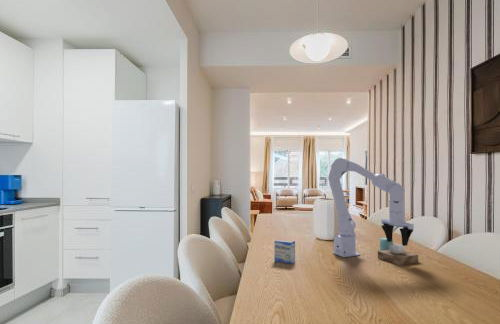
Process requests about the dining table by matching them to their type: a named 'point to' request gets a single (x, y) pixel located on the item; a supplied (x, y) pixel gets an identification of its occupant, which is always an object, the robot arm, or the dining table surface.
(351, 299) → the dining table surface
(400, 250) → the square bit
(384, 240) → the round bit
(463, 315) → the dining table surface
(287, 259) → the medicine box
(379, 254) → the walnut bore block
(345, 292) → the dining table surface
